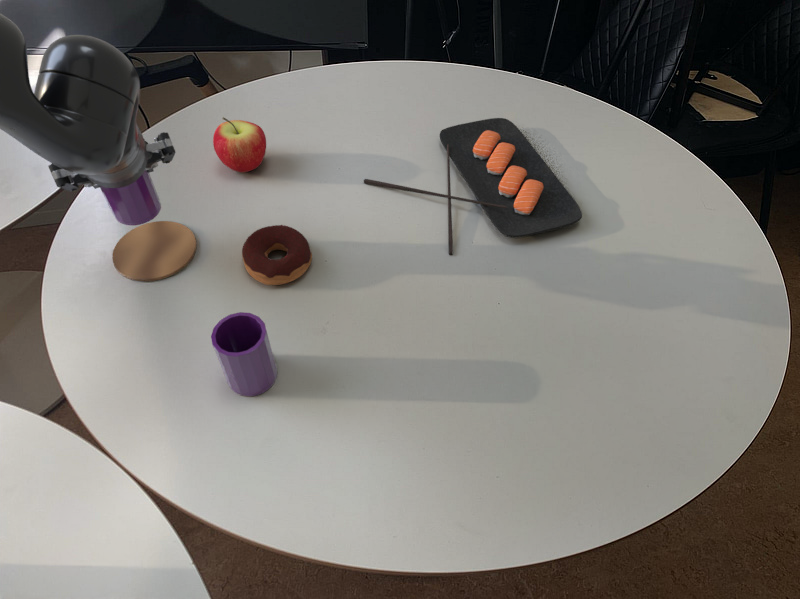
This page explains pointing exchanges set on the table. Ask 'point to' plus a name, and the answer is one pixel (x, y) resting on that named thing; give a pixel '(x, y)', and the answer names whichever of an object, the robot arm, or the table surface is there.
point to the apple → (240, 144)
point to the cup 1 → (134, 201)
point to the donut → (283, 268)
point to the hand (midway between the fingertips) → (121, 172)
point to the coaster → (154, 251)
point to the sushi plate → (504, 179)
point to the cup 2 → (244, 353)
